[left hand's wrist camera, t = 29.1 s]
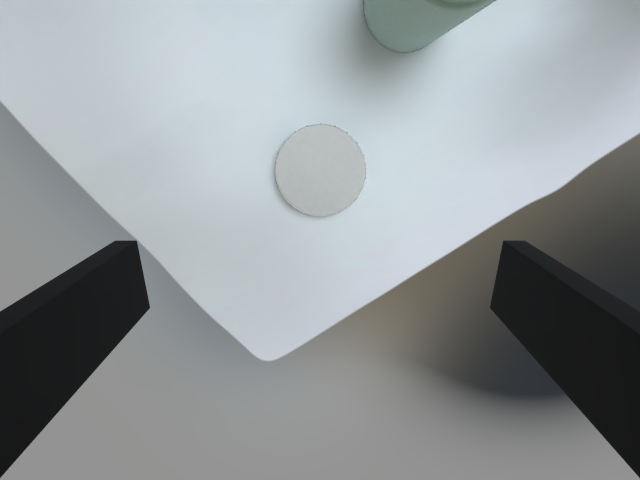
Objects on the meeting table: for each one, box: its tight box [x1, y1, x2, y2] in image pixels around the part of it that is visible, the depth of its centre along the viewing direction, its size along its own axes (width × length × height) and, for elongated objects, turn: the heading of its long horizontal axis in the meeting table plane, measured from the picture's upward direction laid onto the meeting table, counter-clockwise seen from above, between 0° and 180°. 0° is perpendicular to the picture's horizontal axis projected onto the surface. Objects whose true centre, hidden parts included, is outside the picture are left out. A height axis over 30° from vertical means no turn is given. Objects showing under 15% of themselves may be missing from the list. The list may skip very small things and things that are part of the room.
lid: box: [275, 123, 366, 216], centre depth 36 cm, size 10×10×2 cm
